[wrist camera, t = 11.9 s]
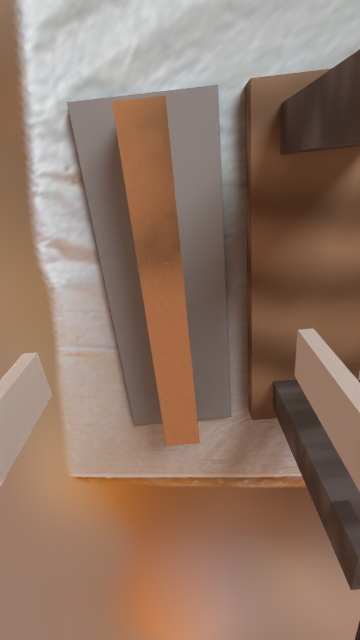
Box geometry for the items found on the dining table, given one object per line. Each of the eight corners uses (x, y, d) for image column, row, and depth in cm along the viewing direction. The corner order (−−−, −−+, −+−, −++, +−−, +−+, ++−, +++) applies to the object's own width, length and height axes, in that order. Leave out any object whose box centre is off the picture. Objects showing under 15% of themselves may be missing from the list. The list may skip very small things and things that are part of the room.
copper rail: (122, 114, 21) (111, 101, 17) (167, 109, 21) (165, 95, 17) (167, 415, 32) (166, 445, 28) (196, 412, 32) (199, 443, 28)
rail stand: (245, 84, 21) (422, -143, 6) (395, 67, 21) (964, -214, 6) (248, 409, 33) (312, 606, 18) (345, 401, 32) (491, 593, 17)
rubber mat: (70, 104, 21) (67, 102, 21) (216, 88, 21) (217, 84, 20) (135, 420, 33) (134, 425, 32) (229, 411, 33) (231, 416, 32)
